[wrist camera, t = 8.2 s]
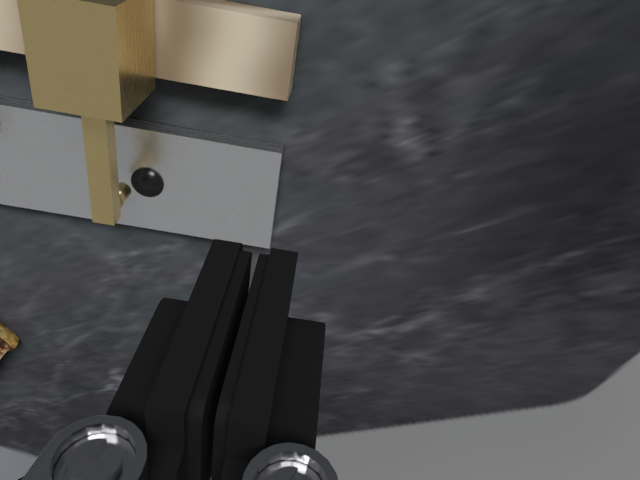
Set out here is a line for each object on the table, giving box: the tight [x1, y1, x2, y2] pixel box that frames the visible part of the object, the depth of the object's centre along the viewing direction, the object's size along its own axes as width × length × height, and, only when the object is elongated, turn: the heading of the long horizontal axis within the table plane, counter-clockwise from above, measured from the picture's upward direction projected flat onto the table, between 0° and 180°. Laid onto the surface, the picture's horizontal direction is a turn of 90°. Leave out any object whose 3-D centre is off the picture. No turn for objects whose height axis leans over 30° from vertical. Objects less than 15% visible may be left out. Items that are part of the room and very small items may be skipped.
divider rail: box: [0, 0, 301, 101], centre depth 28 cm, size 24×12×6 cm, turn 81°
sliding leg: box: [17, 0, 156, 226], centre depth 26 cm, size 4×12×5 cm, turn 171°
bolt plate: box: [0, 96, 284, 249], centre depth 33 cm, size 24×7×1 cm, turn 81°
